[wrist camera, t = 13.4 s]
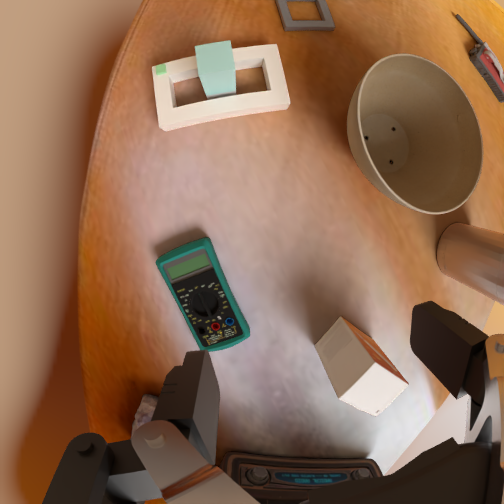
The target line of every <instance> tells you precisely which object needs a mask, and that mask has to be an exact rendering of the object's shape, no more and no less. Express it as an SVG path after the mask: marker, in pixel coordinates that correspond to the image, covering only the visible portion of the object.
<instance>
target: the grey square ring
mask: <svg viewBox="0 0 504 504" xmlns="http://www.w3.org/2000/svg"><path fill="white" fill-rule="evenodd" d="M275 1H276V4H277V7H278V10H279V14H280V17H281V20H282V24H283V27H284V31H300V30H324V31H333V30H334V29H335V24H334V22H333V19H332V16H331V14H330V11H329V8H328V6H327V3H326V1H325V0H275ZM286 1H313V2H316V5H317V8H318V10H319V13H320V16H321V19H322V21H308V20H306V21H292V18H291V15H290V12H289V9H288V6H287V3H286Z"/></svg>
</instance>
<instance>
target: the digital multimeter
mask: <svg viewBox="0 0 504 504" xmlns="http://www.w3.org/2000/svg"><path fill="white" fill-rule="evenodd" d="M156 265H157V267H158V269H159V271H160V273H161V274H162V276H163V278H164V280H165V282H166V284H167V285H168V287H169V289H170V291H171V293H172V295H173V297H174V299H175V301H176V302H177V304H178V306H179V308H180V310H181V312H182V314H183V316H184V318H185V320H186V322H187V324H188V326H189V328H190V330H191V332H192V334H193V336H194V338H195V340H196V342H197V344H198V346H199V348H200V350H208V352H210V351H218V350H223V349H226V348H229V347H232V346H234V345H236V344H238V343H240V342H242V341H243V340H245V339H247V338H248V337H249V336H250V328H249V326H248V324H247V322H246V320H245V318H244V316H243V314H242V312H241V310H240V308H239V306H238V304H237V302H236V300H235V298H234V296H233V294H232V292H231V290H230V287H229V285H228V283H227V280H226V278H225V276H224V273H223V271H222V269H221V266H220V264H219V261H218V258H217V256H216V253H215V250H214V248H213V245H212V242H211V240H210V238H208V237H205V238H202V239H199V240H195V241H193V242H190V243H187V244H184V245H182V246H180V247H177V248H175V249H173V250H171V251H169V252H167V253H166V254H164V255H162V256H161V257H159V258H158V259H157V260H156ZM231 307H232V308H231ZM239 324H240V325H239Z"/></svg>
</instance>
